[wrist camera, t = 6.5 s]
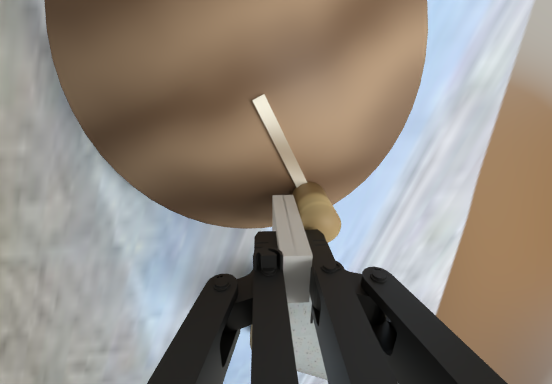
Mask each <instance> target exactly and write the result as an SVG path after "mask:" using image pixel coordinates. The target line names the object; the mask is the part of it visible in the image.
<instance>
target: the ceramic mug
mask: <svg viewBox="0 0 552 384" xmlns="http://www.w3.org/2000/svg"><path fill="white" fill-rule="evenodd" d="M311 306H312V301H311V297H310V298H309V302H303V303H288V310H289V318H290V325H291V332H292V340H293V347H294V355H295V362H296V369H297V371H299V372H302V373H305V374H309V375H312V376H316V377H319V378H322V379H326V380H328V379H327V375H326V371H325V367H324V363H323V358H322V354H321V350H320V346H319V341H318V337H317V333H316V329H315V325H314V320H313V323H311V324H310V318H311ZM250 346H251V350H252V325H251V330H250Z"/></svg>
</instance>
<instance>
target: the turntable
mask: <svg viewBox="0 0 552 384" xmlns="http://www.w3.org/2000/svg"><path fill="white" fill-rule="evenodd" d="M45 12H46V25H47V33H48V38H49V43H50V48H51V53H52V59H53V62H54V65H55V68H56V71H57V75H58V78H59V81H60V84H61V87H62V89H63V91H64V94H65V96H66V98H67V100H68V103H69V105H70V107H71V109H72V112H73V113H74V115H75V117H76V118H77V120H78V122H79V124H80V125H81V127H82V129H83V130H84V132H85V134H86V135H87V137H88V138H89V139H90V141H91V142H92V143H93V145H94V146H95V147H96V149H97V150H98V152H99V153H100V154H101V155H102V156H103V158H104V159H105V160H106V161H107V162H108V163H109V164H110V165H111V166H112V167H113V168H114V170H115V171H116V172H117V173H118V174H120V175H121V176H122V177H123V178H124V179H125V180H126V181H127V182H129V183H130V184H131V185H132V186H133V187H134V188H136V189H137V190H139V191H140V192H141V193H143V194H144V195H146V196H147V197H148V198H150V199H151V200H153V201H155V202H157V203H158V204H160V205H162V206H164V207H165V208H167V209H169V210H171V211H174V212H176V213H178V214H181V215H183V216H185V217H187V218H191V219H194V220H197V221H200V222H204V223H207V224H212V225H217V226H223V227H231V228H265V227H272V195H293V196H294V199H295V202H296V205H297V208H298V211H299V214H300V217H301V221H302V224H303V227H304V230H309V229H318V230H319V231H321V232H322V233H323V234H324V236H325V239H326V241H327V243H328V242H330V241H332V240H333V239H334V238H335V237H336V236H337V235H338V233H339V232H340V229H341V220H340V218H339V216H338V214H337V213H336V211H335V209H334V207H333V205H334V204H335V203H337V202H338V201H340V200H341V199H342V198H344V197H345V196H347V195H348V194H350V193H351V192H352V191H353V190H354V189H356V188H357V187H358V186H359V185H360V184H361V183H363V182H364V181H365V180H366V179H367V178H368V177H369V175H370V174H371V173H372V172H373V171H374V170H375V169H376V168H377V167H378V166H379V164H380V163H381V162H382V160H383V159H384V158H385V156H386V155H387V154H388V152H389V151H390V150H391V148H392V147H393V145H394V143H395V142H396V140H397V138H398V136H399V135H400V133H401V131H402V130H403V128H404V125H405V123H406V121H407V119H408V116H409V114H410V112H411V110H412V107H413V104H414V101H415V98H416V95H417V92H418V89H419V86H420V82H421V77H422V72H423V67H424V62H425V56H426V45H427V34H428V18H427V0H45Z"/></svg>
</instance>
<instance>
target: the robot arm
mask: <svg viewBox="0 0 552 384" xmlns="http://www.w3.org/2000/svg"><path fill="white" fill-rule="evenodd" d="M310 297H311V301H312V306H311V318H310V324H311V323H313V320H314V325H315V329H316V333H317V337H318V341H319V346H320V350H321V354H322V358H323V363H324V367H325V371H326V375H327V379H328V384H507V383H506V382H505V381H504V380H503V379H502V378H501V377H500V376H499V375H498V374H497V373H495V372H494V371H493V370H492V369H491V368H490V367H489V366H488V365H487V364H486V363H485V362H484V361H483V360H482V359H481V358H480V357H479V356H478V355H477V354H476V353H474V352H473V351H472V350H471V349H470V348H469V347H468V346H467V345H466V344H465V343H464V342H463V341H462V340H461V339H460V338H458V337H457V336H456V335H455V334H454V333H453V332H452V331H451V330H450V329H449V328H448V327H447V326H446V325H445V324H444V323H443V322H442V321H440V320H439V319H438V318H437V317H436V316H435V315H434V314H433V313H432V312H431V311H430V310H429V309H428V308H427V307H426V306H425V305H424V304H422V303H421V302H420V301H419V300H418V299H417V298H416V297H415V296H414V295H413V294H412V293H411V292H410V291H409V290H408V289H407V288H405V287H404V286H403V285H402V284H401V283H400V282H399V281H398V280H397V279H396V278H395V277H394V276H393V275H392V274H391V273H389V272H388V271H386V270H384V269H382V268H378V267H368V268H366V269H364V271H363V272H362V274H358V273H353V272H349V271H346V270H345V269H344V267H343V266H342V265H341V264H340V263H339V262H337V261H335V259H334V257H333V255H332V252H331V250H330V248H329V245H328V243H327V241H326V239H325V236H324V234H323V233H322V232H321V231H319V230H318V229H309V230H304V227H303V224H302V221H301V217H300V214H299V211H298V208H297V205H296V202H295V199H294V196H293V195H272V231H264V232H258V233H257V234H256V236H255V246H254V255H253V270H252V272H251V273H250V274H248V275H247V276H245V277H242V278H239V279H236V278H235V277H234V276H233V275H230V274H219V275H215V276H214V277H212V278H210V279H209V281H208V282H207V283H206V285H205V286H204V288H203V290H202V291H201V293H200V295H199V297H198V298H197V300H196V302H195V303H194V305H193V307H192V308H191V310H190V312H189V313H188V315H187V317H186V319H185V320H184V322H183V324H182V325H181V327H180V329H179V330H178V332H177V334H176V335H175V337H174V339H173V341H172V342H171V344H170V346H169V347H168V349H167V351H166V352H165V354H164V356H163V357H162V359H161V361H160V363H159V364H158V366H157V368H156V369H155V371H154V373H153V374H152V376H151V378H150V379H149V381H148V383H147V384H223V381H224V378H225V375H226V372H227V369H228V366H229V363H230V360H231V357H232V354H233V351H234V348H235V345H236V342H237V340H238V337H239V334H240V329H241V328H244V327H246V326H249V325H252V363H251V384H298V377H297V369H296V362H295V355H294V347H293V340H292V332H291V325H290V318H289V310H288V303H303V302H309V298H310ZM397 382H398V383H397Z"/></svg>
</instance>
